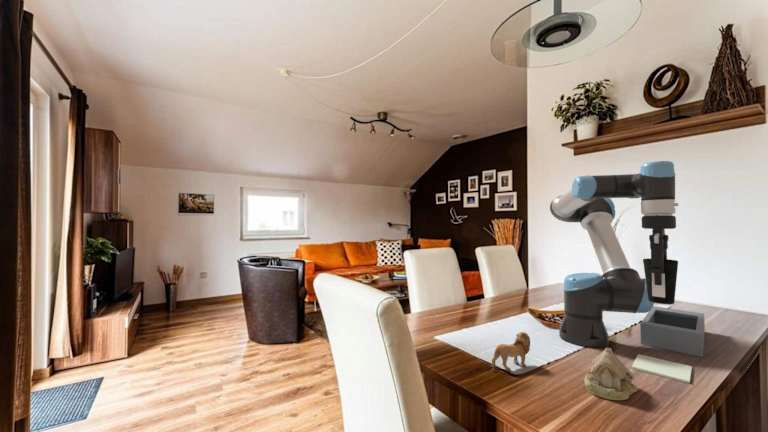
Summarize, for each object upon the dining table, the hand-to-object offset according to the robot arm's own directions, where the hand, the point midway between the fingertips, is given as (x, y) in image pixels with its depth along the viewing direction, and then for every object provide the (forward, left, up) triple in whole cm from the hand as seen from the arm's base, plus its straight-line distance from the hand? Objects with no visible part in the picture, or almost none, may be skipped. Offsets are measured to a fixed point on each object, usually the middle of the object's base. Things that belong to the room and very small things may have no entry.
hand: (660, 294), depth 91 cm
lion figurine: (-31, -29, -21) cm, 47 cm away
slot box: (0, +35, -21) cm, 41 cm away
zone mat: (0, 0, -21) cm, 21 cm away
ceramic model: (-8, -23, -22) cm, 33 cm away
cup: (0, 0, -2) cm, 2 cm away
